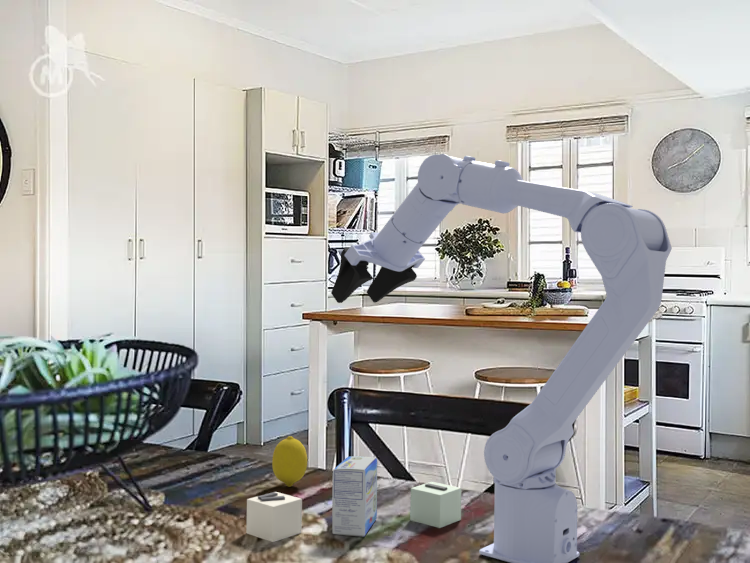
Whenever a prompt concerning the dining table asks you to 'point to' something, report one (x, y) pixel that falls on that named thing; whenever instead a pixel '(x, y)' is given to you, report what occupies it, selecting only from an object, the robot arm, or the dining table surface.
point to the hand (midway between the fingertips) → (354, 297)
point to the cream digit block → (274, 516)
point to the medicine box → (354, 496)
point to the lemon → (289, 461)
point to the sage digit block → (435, 504)
